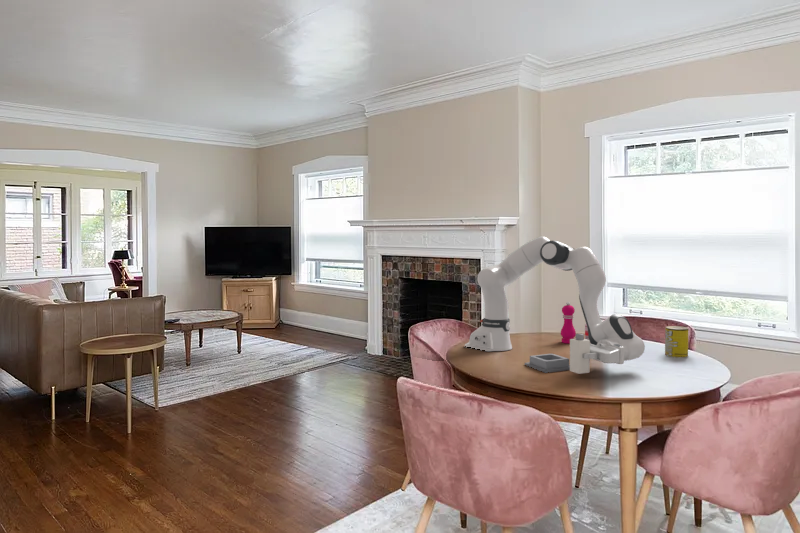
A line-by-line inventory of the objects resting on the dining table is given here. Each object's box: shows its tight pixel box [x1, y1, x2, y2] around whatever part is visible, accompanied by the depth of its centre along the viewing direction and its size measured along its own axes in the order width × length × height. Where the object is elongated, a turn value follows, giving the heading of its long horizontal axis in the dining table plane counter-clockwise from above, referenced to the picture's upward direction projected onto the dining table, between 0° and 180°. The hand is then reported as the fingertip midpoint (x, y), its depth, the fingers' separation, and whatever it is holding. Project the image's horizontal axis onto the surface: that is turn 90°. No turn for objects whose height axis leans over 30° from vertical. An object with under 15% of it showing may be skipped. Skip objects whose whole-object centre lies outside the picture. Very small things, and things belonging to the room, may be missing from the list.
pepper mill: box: [560, 301, 577, 345], centre depth 274 cm, size 7×7×20 cm
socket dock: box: [523, 353, 570, 374], centre depth 225 cm, size 14×14×4 cm
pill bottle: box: [584, 323, 589, 340], centre depth 278 cm, size 6×6×11 cm
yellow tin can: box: [664, 325, 689, 358], centre depth 243 cm, size 9×9×12 cm
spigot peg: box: [569, 333, 591, 375], centre depth 208 cm, size 5×5×14 cm
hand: (577, 354), depth 208 cm, fingers closed on spigot peg, 5 cm apart
